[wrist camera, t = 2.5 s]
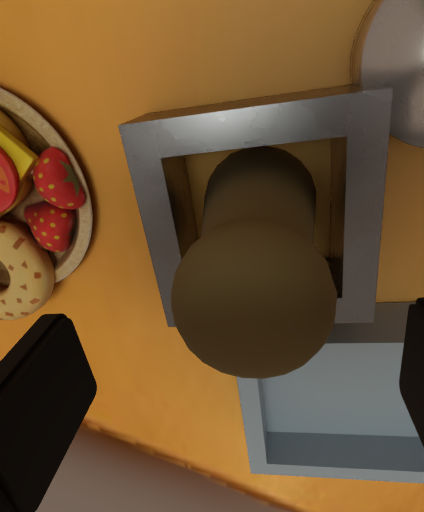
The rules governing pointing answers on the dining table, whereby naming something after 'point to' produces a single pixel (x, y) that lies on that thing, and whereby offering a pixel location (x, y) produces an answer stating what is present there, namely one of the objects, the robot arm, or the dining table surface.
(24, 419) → the robot arm
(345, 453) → the tray
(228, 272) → the cork
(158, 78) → the dining table surface
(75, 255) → the toy food set
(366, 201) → the collar
